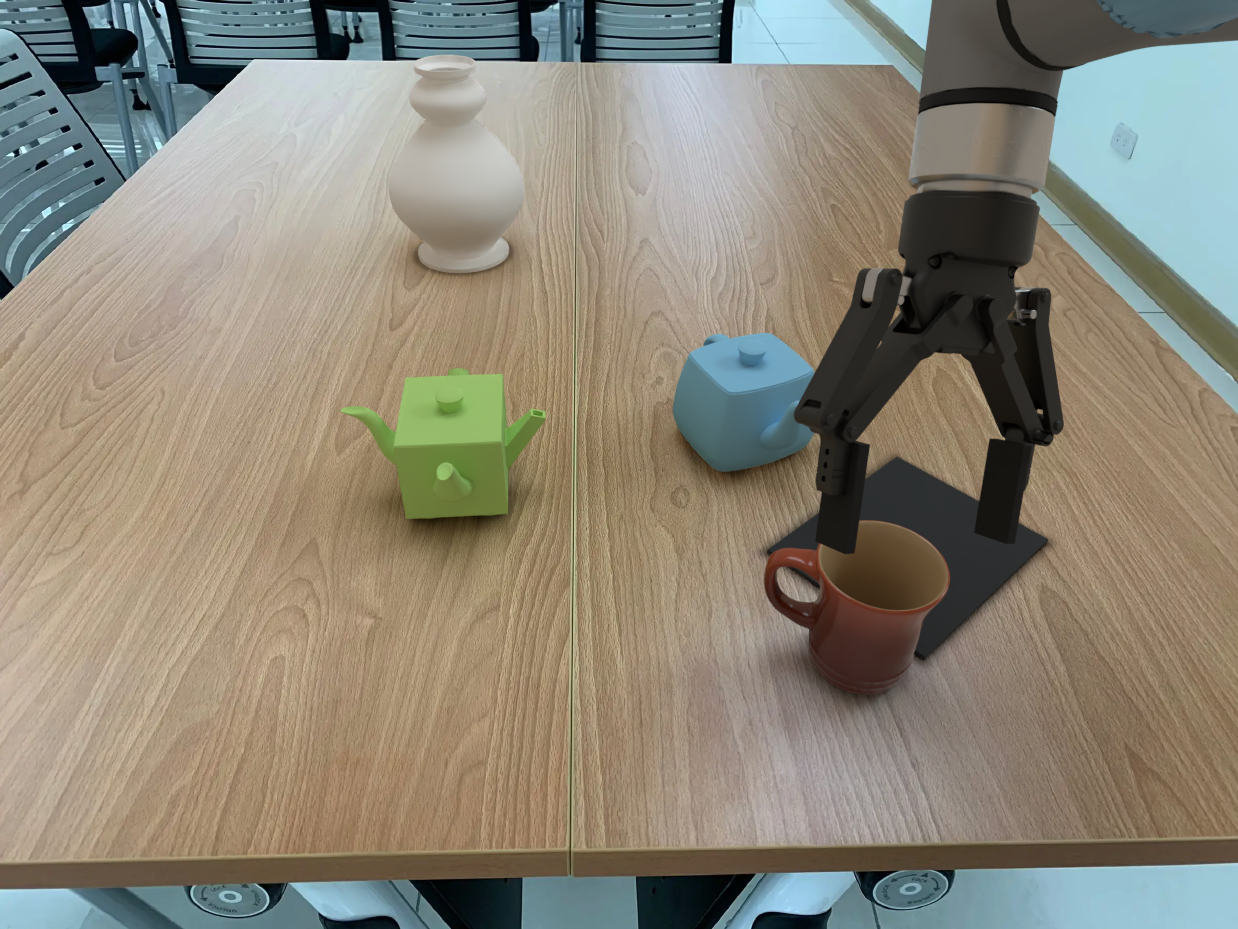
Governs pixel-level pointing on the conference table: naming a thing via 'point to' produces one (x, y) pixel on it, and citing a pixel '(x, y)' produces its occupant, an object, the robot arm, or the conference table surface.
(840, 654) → the mug
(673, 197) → the conference table surface
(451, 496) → the kettle
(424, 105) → the decorative vase
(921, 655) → the front mat
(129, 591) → the conference table surface
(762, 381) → the teapot
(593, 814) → the conference table surface
